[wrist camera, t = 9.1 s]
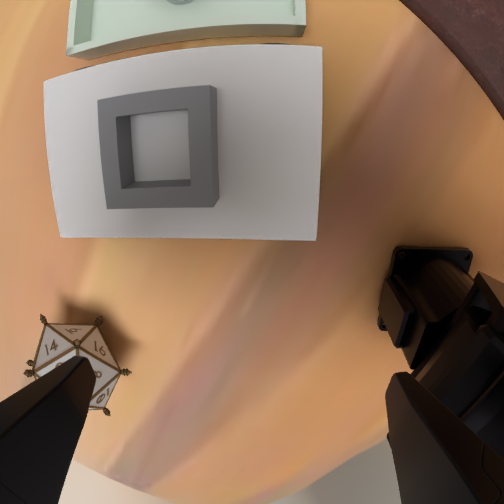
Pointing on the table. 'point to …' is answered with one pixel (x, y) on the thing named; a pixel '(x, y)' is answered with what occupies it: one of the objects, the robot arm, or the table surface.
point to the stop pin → (179, 2)
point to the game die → (78, 343)
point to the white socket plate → (189, 144)
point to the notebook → (470, 38)
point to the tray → (174, 22)
